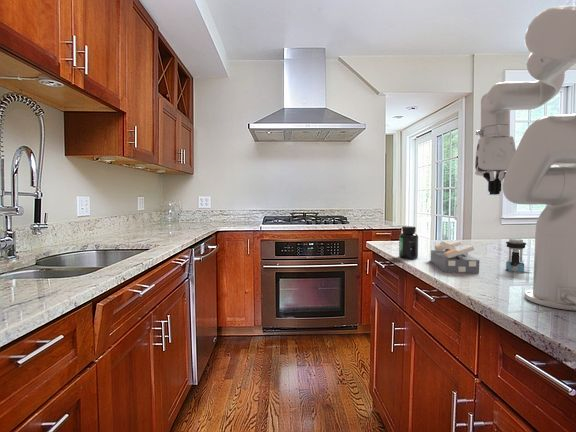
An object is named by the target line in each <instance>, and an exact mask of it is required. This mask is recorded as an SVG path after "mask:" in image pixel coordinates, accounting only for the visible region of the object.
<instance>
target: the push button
mask: <svg viewBox="0 0 576 432" xmlns="http://www.w3.org/2000/svg"><path fill="white" fill-rule="evenodd" d="M505 243H506V248H508V259H507V261H506V263H505V264H506V265H505V270H506V271H507V272H508V271H509V272H519V273H524V272H525V271H526V269H525V268H528V269H527V271H530V272H531V269H530V268H531V266H525V263H524V260H523V254H524V253H523V252H524V251H523V249H525V248H526V245H527V243H526V242H524V240H523V239H520V238H509V241H506V242H505Z"/></svg>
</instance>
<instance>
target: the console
mask: <svg viewBox="0 0 576 432" xmlns="http://www.w3.org/2000/svg"><path fill="white" fill-rule="evenodd" d="M449 250H451V249H445V250H441V251H437V250H435V249H431V250H430V262H431V263H432V264H434V265H435V266H436V267H438V268H439V269H441V271H442V272H444V273H457V274H458V273H461V274H463V273H465V274H466V273H467V274H479V273H480V260H479V259H478V258H475V257H474V256H471V255H470V254H469V253H468V254H467V255H464V254H461V255H458V256H454V257H451V258H447V257H446V256H445V255H444V252H446V251H449Z"/></svg>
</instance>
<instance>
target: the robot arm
mask: <svg viewBox="0 0 576 432" xmlns="http://www.w3.org/2000/svg"><path fill="white" fill-rule="evenodd" d="M524 35H525V36H524V46H525V48H526V50H527V51H528V52H529V53H530V54H529V56H528V58H527V59H526V69H527V71H528V73H529V75H530V76H531V77H532V78H534V79H535V80H533V81H532V80H529V81H523V80H522V81H504V82H498V83H495V84H494V85H492V87H491V88H490V89H489V91H488V92H487V93H484V95H482V96H481V99H480V129H479V130H476V131H475V135H476V136H479V139H478V140H477V141H478V142H477V146H476V151H475V158H474V159H475V161H474V167H475V173H474V174H475V175H476V176H480V177H483V178H484V179H485V180H486V181H487V184H488V185H487V186H488V187H487V188H488V189H487V190H488V193H489V195H495V196H497V195H500V194H501V191H502V193H503V195H504V197H505V198H506V200H508V201H509V202H511V203H512V204H516V205H517V204H518V205H546V206H545V208H544V209H543V210H542V211H541V213H540V214H539V215H538V218H537V220H536V223H535V236H534V254H533V255H534V257H533V259H534V261H533V280H532V282H533V283H532V289H528V290H525V292H524V298H525V299H526V300H527V301H529V302H532V303H534V304H537V305H540V306H542V307H543V306H544V307H549V308H553V309H558V310H565V311H576V112H574V113H571V114H551V115H546V116H545V115H544V116H542V117H539V118H538V119H536V120H535V121H533V122H532V123H531V124H530V125H529V126H528V128H526V130H525V131H524V132H523V136H522V137H521V139H520V141H519V143H518V146H516V144H515V139H514V136H512V135H510V134H511V133H510V132H511V130H510V129H511V120H510V119H511V111H520V110H521V111H523V110H524V111H525V110H526V111H527V110H529V111H530V110H535V109H538V108H540V107H542V106H543V105H545V104H546V103H548V102H549V101H551V100H552V99H553V98H555V97H556V95H558V93H559V92H560V90H561V88H562V86H563V84H564V81H565V76H566V74H565V72H567V71H568V70H569V69H570V68H572V67H573V66H574V65H575V64H576V5H558V6H557V5H555V6H550V7H547V8H545V9H543V10H542V11H541V12H539V13H538V14H537V15H536V16H535V17H534V18H533V19H532V21H531V22H530V23H529V25H528V27H527V29H526V31H525V34H524ZM516 147H517V148H516ZM494 172H495V173H494Z"/></svg>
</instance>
